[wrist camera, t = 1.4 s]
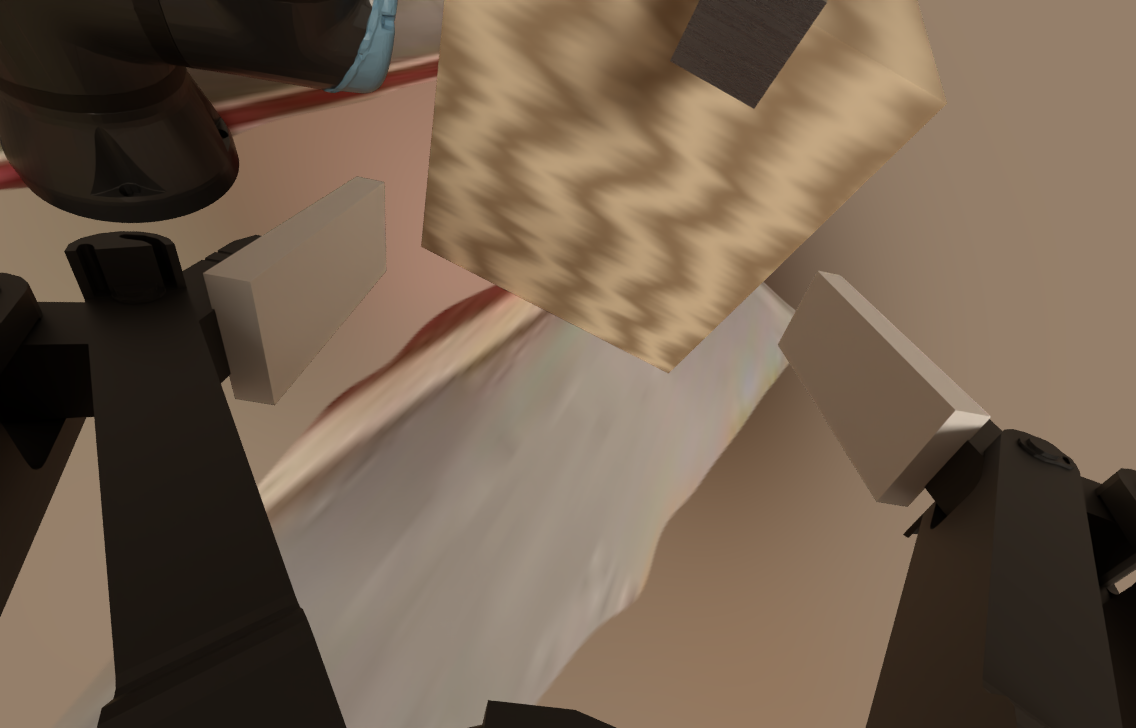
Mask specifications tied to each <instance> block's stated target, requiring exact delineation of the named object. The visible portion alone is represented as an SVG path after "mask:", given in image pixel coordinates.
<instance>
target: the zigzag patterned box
mask: <svg viewBox="0 0 1136 728" xmlns="http://www.w3.org/2000/svg"><path fill="white" fill-rule="evenodd" d="M698 2H699V0H444V11H443V21H442V32H441V43H440V53H439V64H438V74H437V85H436V96H435V107H434V117H433V127H432V138H431V149H430V159H429V170H428V181H427V192H426V202H425V212H424V223H423V234H422V244H421V246H422V247H423V248H425V249H427V250H429V251H431V252H433V253H435V254H437V255H439V256H441V257H443V258H445V259H446V260H449V261H450V262H452V263H454V264H456V265H458V266H460V267H462V268H464V269H466V270H468V271H470V272H472V273H474V274H476V275H478V276H480V277H482V278H484V279H486V280H488V281H490V282H491V283H493V284H495V285H497V286H499V287H501V288H503V289H505V290H507V291H509V292H511V293H513V294H515V295H517V296H519V297H521V298H523V299H525V300H526V301H528V302H530V303H532V304H534V305H536V306H538V307H540V308H542V309H544V310H546V311H548V312H550V313H552V314H554V315H556V316H558V317H560V318H562V319H564V320H566V321H567V322H569V323H571V324H573V325H575V326H577V327H579V328H581V329H583V330H585V331H587V332H589V333H591V334H593V335H595V336H597V337H599V338H601V339H603V340H605V341H607V342H608V343H610V344H612V345H614V346H616V347H618V348H620V349H622V350H624V351H626V352H628V353H630V354H632V355H634V356H636V357H638V358H640V359H642V360H644V361H646V362H647V363H649V364H651V365H653V366H655V367H657V368H659V369H661V370H663V371H665V372H667V373H669V372H670V371H671V370H672V369H673V368H674V367H676V366H677V365H678V364H679V363H680V362H681V361H682V360H683V359H684V358H685V357H686V356H687V355H688V354H689V353H690V352H691V351H692V350H693V349H694V348H695V347H696V346H697V345H698V344H699V343H700V342H701V341H702V340H703V339H704V338H705V337H706V336H707V335H709V334H710V333H711V332H712V331H713V330H714V329H715V328H716V327H717V326H718V325H719V324H720V323H721V322H722V321H723V320H724V319H725V318H726V317H727V316H728V315H729V314H730V313H731V312H732V311H733V310H734V309H735V308H736V307H737V306H738V305H739V304H741V303H742V302H743V301H744V300H745V299H746V298H747V297H748V296H749V295H750V294H751V293H752V292H753V291H754V290H755V289H756V288H757V287H758V286H759V285H760V284H761V283H762V282H763V281H764V280H765V279H766V278H767V277H768V276H769V275H770V274H771V273H773V271H775V270H776V269H777V268H778V267H779V266H780V265H781V264H782V263H783V262H784V261H785V260H786V259H787V258H788V257H789V256H790V255H791V254H792V253H793V252H794V251H795V250H796V249H797V248H798V247H799V246H800V245H801V244H802V243H803V242H804V241H805V240H806V239H807V238H809V237H810V236H811V235H812V234H813V233H814V232H815V231H816V230H817V229H818V228H819V227H820V226H821V225H822V224H823V223H824V222H825V221H826V220H827V219H828V218H829V217H830V216H831V215H832V214H833V213H834V212H835V211H836V210H838V209H839V208H840V207H841V206H842V205H843V204H844V203H845V201H847V200H848V199H849V198H850V197H851V196H852V195H853V194H854V193H855V192H856V191H857V190H858V189H859V188H860V187H861V186H862V185H863V184H864V183H865V182H866V181H867V180H868V179H869V178H870V177H872V176H873V174H875V173H876V171H878V170H879V169H880V168H881V167H882V166H883V165H884V164H885V163H886V162H887V161H888V160H889V159H890V158H891V157H892V156H893V155H894V154H895V153H896V152H897V151H898V150H899V149H900V148H901V147H903V146H904V145H905V144H906V143H907V142H908V141H909V140H910V139H911V138H912V137H913V136H914V135H915V134H916V133H917V132H918V131H919V130H920V129H921V128H922V127H923V126H924V125H925V124H926V123H927V122H928V121H929V120H930V119H931V118H932V117H933V116H934V115H935V114H937V112H938V111H940V109H942V108H943V107H944V106H945V105H946V104H947V101H946V98H945V95H944V91H943V87H942V84H941V80H940V77H939V74H938V70H937V67H936V63H935V60H934V56H933V53H932V49H931V46H930V42H929V39H928V35H927V32H926V28H925V25H924V21H923V18H922V15H921V11H920V8H919V4H918V1H917V0H827V4H826V5H825V6H824V8H823V9H822V11H821V12H820V14H819V15H818V17H817V18H816V20H815V21H814V22H813V24H812V25H811V27H810V28H809V30H808V31H807V33H806V34H805V36H804V37H803V39H802V40H801V41H800V43H799V44H798V46H797V47H796V49H795V50H794V52H793V53H792V55H791V56H790V57H789V59H788V60H787V62H786V63H785V65H784V66H783V68H782V69H781V71H780V72H779V73H778V75H777V76H776V78H775V79H774V81H773V82H772V84H771V85H770V87H769V88H768V90H767V91H766V92H765V94H764V95H763V97H762V98H761V100H760V101H759V103H758V104H757V106H756V107H755V108H754V109H753V108H751V107H750V106H748V105H746V104H744V103H743V102H741V101H739V100H737V99H736V98H734V97H732V96H730V95H729V94H727V93H725V92H723V91H722V90H720V89H718V88H716V87H715V86H713V85H711V84H709V83H707V82H706V81H704V80H702V79H700V78H699V77H697V76H695V75H693V74H692V73H690V72H688V71H686V70H685V69H683V68H681V67H679V66H678V65H676V64H674V63H672V62H671V61H670V60H671V58H672V56H673V54H674V52H675V50H676V47H677V45H678V43H679V41H680V39H681V37H682V35H683V33H684V31H685V29H686V27H687V25H688V23H689V21H690V19H691V17H692V15H693V13H694V10H695V8H696V6H697V4H698Z"/></svg>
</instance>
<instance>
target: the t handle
mask: <svg viewBox="0 0 1136 728" xmlns="http://www.w3.org/2000/svg"><path fill="white" fill-rule="evenodd" d="M826 4H827V0H699V2H698V4H697V6H696V8H695V10H694V13H693V15H692V17H691V19H690V21H689V23H688V25H687V27H686V29H685V31H684V33H683V35H682V37H681V39H680V41H679V43H678V45H677V47H676V50H675V52H674V54H673V56H672V58H671V60H670V61H671V62H672V63H674V64H676V65H678V66H679V67H681V68H683V69H685V70H686V71H688V72H690V73H692V74H693V75H695V76H697V77H699V78H700V79H702V80H704V81H706V82H707V83H709V84H711V85H713V86H715V87H716V88H718V89H720V90H722V91H723V92H725V93H727V94H729V95H730V96H732V97H734V98H736V99H737V100H739V101H741V102H743V103H744V104H746V105H748V106H750V107H751V108H753V109H754V108H755V107H756V106H757V104H758V103H759V101H760V100H761V98H762V97H763V95H764V94H765V92H766V91H767V90H768V88H769V87H770V85H771V84H772V82H773V81H774V79H775V78H776V76H777V75H778V73H779V72H780V71H781V69H782V68H783V66H784V65H785V63H786V62H787V60H788V59H789V57H790V56H791V55H792V53H793V52H794V50H795V49H796V47H797V46H798V44H799V43H800V41H801V40H802V39H803V37H804V36H805V34H806V33H807V31H808V30H809V28H810V27H811V25H812V24H813V22H814V21H815V20H816V18H817V17H818V15H819V14H820V12H821V11H822V9H823V8H824V6H825V5H826Z"/></svg>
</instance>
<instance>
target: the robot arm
mask: <svg viewBox="0 0 1136 728" xmlns="http://www.w3.org/2000/svg"><path fill="white" fill-rule="evenodd" d="M397 1H398V0H0V141H1V145H2V149H3V151H4V153H5V155H6V157H7V159H8V161H9V163H10V164H11V165H12V167H13V168H14V169H15V171H16V172H17V173H18V174H19V176H20V177H21V178H22V180H23V181H24V182H25V184H26V185H27V186H28V187H29V188H30V189H31V190H32V191H33V192H34V193H35V194H36V195H37V196H39V197H40V198H41V199H43V200H44V201H46V202H48V203H49V204H51V205H53V206H55V207H57V208H59V209H61V210H64V211H66V212H69V213H72V214H75V215H78V216H82V217H86V218H91V219H95V220H101V221H109V222H121V223H144V222H155V221H163V220H168V219H173V218H177V217H181V216H185V215H188V214H191V213H193V212H196V211H198V210H200V209H203V208H205V207H207V206H209V205H210V204H212V203H214V202H215V201H217V200H218V199H219V198H221V197H222V196H223V195H224V194H225V193H226V192H227V191H228V190H229V189H230V187H231V186H232V185H233V183H234V182H235V180H236V177H237V175H238V171H239V158H238V154H237V151H236V148H235V144H234V141H233V138H232V135H231V133H230V131H229V129H228V127H227V125H226V124H225V122H224V121H223V119H222V118H221V117H220V115H219V114H218V112H217V111H216V110H215V108H214V107H213V106H212V104H211V103H210V102H209V100H208V99H207V97H206V96H205V95H204V93H203V92H202V91H201V89H200V88H199V87H198V85H197V84H196V82H195V81H194V80H193V78H192V77H191V76H190V74H189V73H188V71H187V69H186V67H189V68H196V69H202V70H209V71H215V72H221V73H228V74H234V75H241V76H246V77H252V78H258V79H264V80H270V81H275V82H281V83H287V84H293V85H299V86H304V87H310V88H316V89H322V90H324V91H326V92H330V93H336V92H339V91H345V92H355V93H370V92H373V91H375V90H377V89H378V88H379V87H380V86H381V85H382V83H383V82H384V80H385V78H386V75H387V72H388V69H389V65H390V60H391V55H392V50H393V43H394V34H395V28H394V20H395V16H396V10H397ZM384 189H385V186H384V182H382V181H377V180H372V179H368V178H363V177H355V178H353V179H352V180H350V181H349V182H347V183H346V184H344V185H342V186H341V187H339V188H338V189H336V190H334V191H333V192H331V193H330V194H328V195H326V196H325V197H323V198H322V199H320V200H318V201H317V202H315V203H314V204H312V205H311V206H309V207H307V208H306V209H304V210H303V211H301V212H299V213H298V214H296V215H295V216H293V217H291V218H290V219H288V220H287V221H285V222H283V223H282V224H280V225H279V226H277V227H275V228H274V229H272V230H271V231H269V232H268V233H266V234H264V235H263V236H259V235H254V236H251V237H247V238H243V239H239V240H236V241H233V242H231V243H229V244H228V245H226V246H225V247H223V248H221V249H219V250H218V253H217V252H214V253H213V254H211V255H209V256H208V257H206V258H205V260H201V261H199V262H198V263H196V264H194V265H192V266H191V267H189V268H188V269H186V270H184V271H182V269H181V265H180V262H179V258H178V255H177V251H176V248H175V244H174V243H173V242H172V241H171V240H170V239H169V238H166V237H163V236H161V235H157V234H152V233H146V232H125V231H123V232H122V231H120V232H110V233H101V234H96V235H92V236H88V237H84V238H80V239H78V240H76V241H74V242H72V243H70V244H69V245H68V247H67V248H66V250H65V251H64V252H65V254H66V256H67V259H68V261H69V263H70V266H71V268H72V271H73V273H74V275H75V278H76V280H77V282H78V285H79V287H80V289H81V292H82V294H83V297H84V299H85V303H83V302H37V300H36V298H35V296H34V294H33V292H32V290H31V288H30V286H29V284H28V282H26V281H25V280H24V279H23V278H21V277H19V276H15V275H11V274H7V273H0V616H1V614H2V612H3V609H4V607H5V605H6V602H7V600H8V598H9V595H10V593H11V591H12V588H13V586H14V584H15V581H16V579H17V577H18V574H19V572H20V570H21V568H22V565H23V563H24V561H25V558H26V556H27V553H28V551H29V549H30V547H31V544H32V542H33V540H34V537H35V535H36V533H37V530H38V528H39V526H40V523H41V521H42V519H43V517H44V514H45V512H46V510H47V507H48V505H49V503H50V500H51V498H52V496H53V493H54V491H55V489H56V486H57V484H58V482H59V479H60V477H61V475H62V472H63V470H64V468H65V466H66V463H67V461H68V459H69V456H70V454H71V452H72V449H73V447H74V444H75V442H76V440H77V438H78V435H79V433H80V431H81V428H82V426H83V424H84V421H85V419H86V417H94V418H95V431H96V443H97V455H98V467H99V480H100V491H101V504H102V516H103V528H104V540H105V553H106V565H107V576H108V589H109V602H110V613H111V626H112V638H113V650H114V663H115V675H116V690H115V695H114V699H113V700H111V701H110V702H109V703H108V704H106V705H105V706H104V707H103V708H102V710H101V714H100V718H99V722H98V725H97V728H346V725H345V722H344V719H343V717H342V714H341V711H340V708H339V706H338V703H337V700H336V697H335V694H334V692H333V689H332V686H331V683H330V680H329V678H328V675H327V672H326V669H325V666H324V664H323V661H322V658H321V655H320V652H319V650H318V647H317V644H316V641H315V638H314V636H313V633H312V630H311V628H310V625H309V622H308V620H307V617H306V615H305V613H304V611H303V609H302V608H300V606H299V604H298V601H297V599H296V596H295V593H294V591H293V588H292V585H291V582H290V579H289V576H288V574H287V571H286V568H285V565H284V562H283V559H282V556H281V554H280V551H279V548H278V545H277V542H276V539H275V537H274V534H273V531H272V528H271V525H270V522H269V520H268V517H267V514H266V511H265V508H264V505H263V503H262V500H261V497H260V494H259V491H258V488H257V485H256V483H255V480H254V477H253V474H252V471H251V468H250V466H249V463H248V460H247V457H246V454H245V451H244V449H243V446H242V443H241V440H240V438H239V434H238V432H237V429H236V426H235V423H234V420H233V417H232V415H231V412H230V409H229V406H228V403H227V400H226V397H225V395H224V392H223V389H222V386H221V383H222V382H223V381H224V380H225V379H226V378H227V377H228V376H229V377H230V381H231V385H232V389H233V392H234V396H235V399H240V400H246V401H252V402H258V403H264V404H271V405H275V404H276V403H277V402H278V401H279V400H280V398H281V397H282V396H283V395H284V393H285V392H286V391H287V390H288V389H289V388H290V386H291V385H292V384H293V383H294V381H295V380H296V379H297V378H298V377H299V375H300V374H301V373H302V372H303V371H304V369H305V368H306V367H307V366H308V365H309V363H310V362H311V361H312V360H313V359H314V357H315V356H316V355H317V354H318V353H319V351H320V350H321V349H322V348H323V346H324V345H325V344H326V343H327V342H328V341H329V339H330V338H331V337H332V336H333V334H334V333H335V332H336V331H337V330H338V329H339V327H340V326H341V325H342V323H343V322H344V321H345V320H346V319H347V318H348V316H349V315H350V314H351V313H352V312H353V310H354V309H355V308H356V307H357V305H358V304H359V303H360V302H361V301H362V300H363V298H364V297H365V296H366V295H367V294H368V292H369V291H370V290H371V289H372V288H373V286H374V285H375V284H376V283H377V282H378V280H379V279H380V278H381V277H382V275H383V274H384V273H385V272H386V237H385V236H386V235H385V234H386V233H385V190H384ZM778 346H779V347H780V349H781V350H782V352H783V354H784V355H785V357H786V358H787V360H788V362H789V363H790V365H791V366H792V368H793V370H794V371H795V373H796V374H797V376H798V378H799V379H800V381H801V382H802V384H803V386H804V387H805V389H806V390H807V392H808V393H809V395H810V397H811V398H812V400H813V401H814V403H815V405H816V406H817V407H818V409H819V411H820V412H821V414H822V416H823V417H824V419H825V420H826V422H827V424H828V425H829V427H830V428H831V430H832V432H833V433H834V435H835V436H836V438H837V440H838V441H839V443H840V444H841V446H842V448H843V449H844V451H845V452H846V454H847V456H848V457H849V459H850V460H851V462H852V463H853V465H854V467H855V468H856V470H857V472H858V473H859V475H860V476H861V478H862V479H863V481H864V483H865V484H866V486H867V488H868V489H869V491H870V492H871V494H872V495H873V497H874V499H875V500H876V502H881V503H887V504H894V505H899V506H906V507H908V506H909V505H910V504H911V503H912V502H913V500H914V499H915V498H916V497H917V496H918V495H919V494H920V493H921V492H922V491H923V490H924V488H926V490H927V491H928V492H929V494H930V495H931V496H932V498H933V499H934V500H935V502H934V503H933V504H932V505H931V506H930V507H929V508H928V509H927V510H926V511H925V512H924V513H923V514H922V515H921V516H920V517H919V518H918V520H916V522H915V523H914V524H913V525H912V526H911V527H910V528H909V529H908V530H907V531H906V532H905V533H904V534H903V535H905V536H906V537H910V536H911V535H912V534H918V536H917V540H916V543H915V547H914V551H913V555H912V558H911V562H910V566H909V569H908V573H907V577H906V580H905V584H904V588H903V591H902V595H901V599H900V603H899V606H898V610H897V614H896V617H895V621H894V625H893V629H892V632H891V636H890V640H889V643H888V647H887V651H886V654H885V658H884V662H883V666H882V669H881V673H880V677H879V680H878V684H877V688H876V691H875V695H874V699H873V703H872V706H871V710H870V714H869V718H868V722H867V725H866V728H1136V582H1135V583H1134V584H1133V585H1132V586H1131V587H1129V588H1128V589H1126V590H1125V591H1123V592H1121V593H1120V594H1119V592H1118V590H1117V588H1116V587H1115V585H1114V584H1115V583H1116V582H1118V581H1119V580H1121V579H1122V578H1123V577H1125V576H1127V575H1128V574H1130V573H1131V572H1133V571H1134V570H1136V471H1135V470H1132V469H1122V468H1121V469H1120V470H1119V471H1118V472H1116V473H1115V474H1114V475H1112V476H1111V477H1110V478H1109V479H1108V480H1106V481H1105V482H1104V483H1103V484H1100V483H1097V482H1095V481H1092V480H1089V479H1086V478H1084V477H1081V476H1080V471H1079V470H1078V468H1077V466H1076V464H1075V463H1074V462H1073V460H1072V459H1071V458H1069V457H1068V456H1066V455H1065V454H1064V453H1062V452H1061V451H1060V450H1059V449H1058V448H1057V447H1055V446H1054V445H1053V444H1051V443H1049V442H1048V441H1046V440H1043V439H1041V438H1038V437H1035V436H1032V435H1030V434H1028V433H1025V432H1022V431H1018V430H1014V429H1007V430H1004V431H1002V430H1001V429H999V428H998V427H997V426H996V425H995V424H994V423H993V422H992V421H991V420H990V417H991V416H990V415H989V414H988V413H987V412H986V411H985V410H984V409H983V408H981V407H980V406H979V405H978V404H977V403H976V402H975V401H974V400H973V399H972V398H971V397H970V396H969V395H968V394H967V393H965V392H964V391H963V390H962V389H961V388H960V387H959V386H958V385H957V384H956V383H955V382H954V381H953V380H952V379H951V378H949V377H948V376H947V375H946V374H945V373H944V372H943V371H942V370H941V369H940V368H939V367H938V366H937V365H936V364H935V363H933V362H932V361H931V360H930V359H929V358H928V357H927V356H926V355H925V354H924V353H923V352H922V351H921V350H920V349H918V348H917V347H916V346H915V345H914V344H913V343H912V342H911V341H910V340H909V339H908V338H907V337H906V336H905V335H903V334H902V333H901V332H900V331H899V330H898V329H897V328H896V327H895V326H894V325H893V324H892V323H891V322H890V321H889V320H888V319H886V318H885V317H884V316H883V315H882V314H881V313H880V312H879V311H878V310H877V309H876V308H875V307H874V306H873V305H872V304H870V303H869V302H868V301H867V300H866V299H865V298H864V297H863V296H862V295H861V294H860V293H859V292H858V291H857V290H856V289H855V288H853V287H852V286H851V285H850V284H849V283H848V282H847V281H846V280H845V279H844V278H843V277H842V276H840V275H836V274H831V273H826V272H821V271H817V272H816V274H815V276H814V278H813V280H812V282H811V284H810V286H809V287H808V289H807V291H806V293H805V295H804V297H803V299H802V301H801V302H800V305H799V306H798V308H797V310H796V312H795V314H794V316H793V317H792V319H791V321H790V323H789V325H788V327H787V329H786V331H785V332H784V334H783V336H782V338H781V340H780V342H779V344H778ZM469 728H616V727H613V726H611V725H609V724H607V723H604V722H602V721H600V720H597V719H595V718H593V717H590V716H588V715H586V714H583V713H581V712H579V711H576V710H570V709H562V708H553V707H544V706H535V705H526V704H517V703H508V702H499V701H490V700H488V703H487V707H486V711H485V715H484V719H483V723H482V725H478V726H474V727H469Z"/></svg>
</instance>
